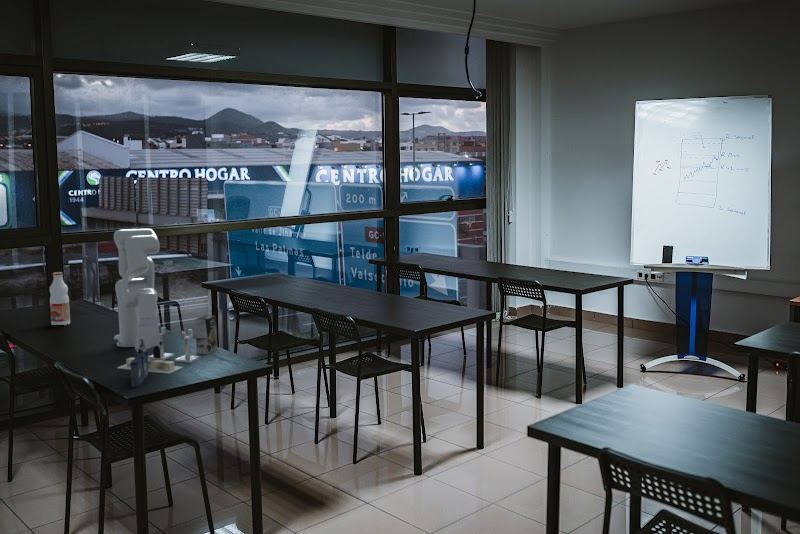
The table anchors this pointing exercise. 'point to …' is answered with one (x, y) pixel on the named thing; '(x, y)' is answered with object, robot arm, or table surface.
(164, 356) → the standard left
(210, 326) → the coffee box
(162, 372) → the sage mat
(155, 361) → the birch rail
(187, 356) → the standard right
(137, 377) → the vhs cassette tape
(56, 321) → the fruit juice
